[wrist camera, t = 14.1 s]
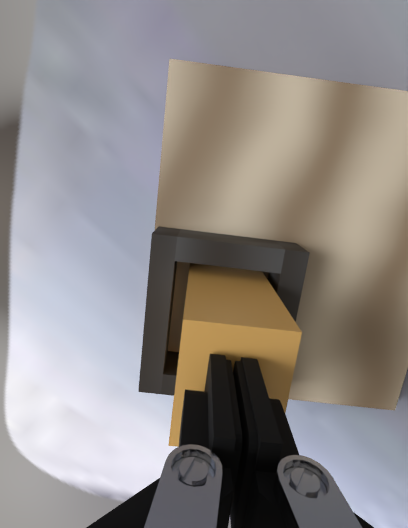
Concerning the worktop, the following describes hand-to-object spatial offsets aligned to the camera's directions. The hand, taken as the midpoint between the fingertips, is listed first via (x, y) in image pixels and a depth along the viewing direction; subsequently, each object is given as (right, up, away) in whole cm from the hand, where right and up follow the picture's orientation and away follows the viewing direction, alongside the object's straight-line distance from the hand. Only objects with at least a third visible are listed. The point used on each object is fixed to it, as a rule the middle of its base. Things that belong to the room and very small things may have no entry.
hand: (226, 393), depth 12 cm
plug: (0, +2, +8) cm, 8 cm away
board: (+4, +5, +9) cm, 11 cm away
